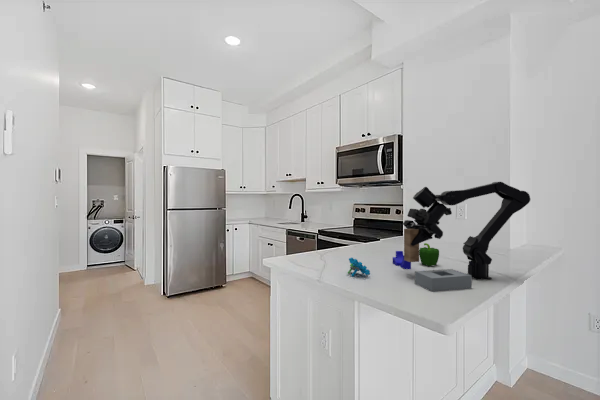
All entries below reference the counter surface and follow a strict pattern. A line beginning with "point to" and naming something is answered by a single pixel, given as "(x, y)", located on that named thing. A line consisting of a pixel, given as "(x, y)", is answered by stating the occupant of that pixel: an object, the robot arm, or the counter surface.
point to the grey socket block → (443, 280)
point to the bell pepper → (429, 255)
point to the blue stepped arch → (401, 260)
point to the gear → (357, 267)
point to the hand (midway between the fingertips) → (408, 244)
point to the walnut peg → (410, 246)
